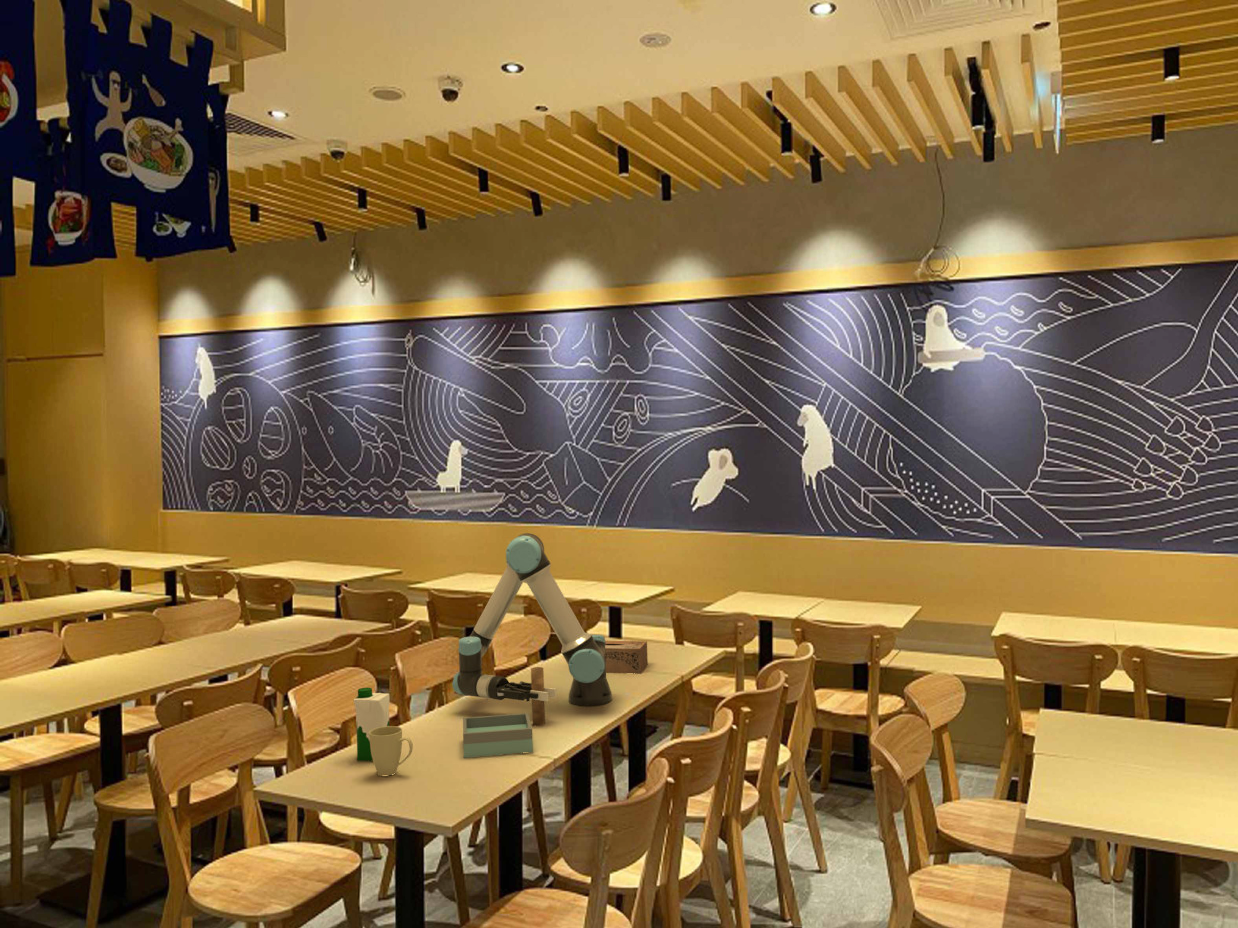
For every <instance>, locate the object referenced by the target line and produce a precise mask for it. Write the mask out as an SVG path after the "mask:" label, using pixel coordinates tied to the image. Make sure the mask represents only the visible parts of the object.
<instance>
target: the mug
mask: <svg viewBox="0 0 1238 928" xmlns="http://www.w3.org/2000/svg"><path fill="white" fill-rule="evenodd" d="M369 738H370V748H371V755H372V759H373V761H372V762H373V765H374V767H375V770H376V773H377V775H378V776H379V775H392V774H394V773H396V774H397V771H398V768H399V766H400V765H402V764H403V763H405V761H407V759H408V758H409V757H410V756H411V755H412V753H413V748H414V746H413V741H412V739H411V737H410V738H409V737H403V728H402V727H400V726H392V725H389V726H385V727H379V728H375V729H373V730H371V731H370V732H369ZM404 741H407V743H408V745H409V751H408V754H407V755H406V756H405V757H404V758H403V759H402V760H401V756H402V751H403V750H402V747H403V746H402V745H403V742H404ZM400 760H401V761H400ZM392 776H393V775H392Z"/></svg>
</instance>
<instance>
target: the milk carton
mask: <svg viewBox="0 0 1238 928" xmlns="http://www.w3.org/2000/svg"><path fill="white" fill-rule="evenodd" d="M353 703H354V708H355V710H354V711H355V724H356V725H355V726H356V727H355V728H356V758H357V759H356V761H359V762H373V759H372V755H371V748H370V738H369V732H370V731H371V730H373V729H375V728H379V727H385V726H390V693H382V692H373V688H372V687H362V688H358V689H357V696H356V697H355V698H354V699H353ZM371 760H372V761H371Z"/></svg>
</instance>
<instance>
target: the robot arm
mask: <svg viewBox="0 0 1238 928" xmlns="http://www.w3.org/2000/svg"><path fill="white" fill-rule="evenodd" d="M505 560H506V561H505V564H506V567H505V570H504V571H503V573H502V575H501V577H500V579H499V581H498V582H497V585H496V587H495V589H494V590H493V592H492V594H491V596H490V598H489V600H488V602H487V604H486V605H485V608H483V611H482V612H481V615H480V617H479V618H478V620H477V622H476V624H475V626H474V628H473V630H472V631H471V634H470V635H469V636H465V637H461V638H460V639H459V640H458V649H457V651H458V665H459V666H458V667H459V671H458V672H456V673H455V674H454V676H453V681H451V684H452V685H451V686H452V689H453V691H454V692H455V693H456V694H459V695H463V696H466V697H477V698H483V699H484V698H485V700H487V701H488V700H489V699H491V700H497V701H502V700H505V699H508V700H515V701H517V700H518V701H525V700H526V701H525V702H530V701H531V700H532V699H534V700H541V701H544V702H549V698H557V697H558V696H557V695H558V694H557V688H551V687H545V686H544V692H542V691H534V690H532V687H531V682H525V681H522V680H521V681H519V683H517V682H514V681H511V682H509V680H508V678H507V677H505V676H499V675H491V674H483V671H482V670H483V669H482V666H483V665H482V664H483V663H482V658H483V657H484V655H486V654H487V652H488V650H489V647H490V645H491V643H492V641H493V639H494V638H495V636H496V633H497V631H498V630H499V628H500V627H501V624H502V622H503V620H504V618H505V617H506V615H507V613H508V612H509V609H510V607H511V605H512V604H513V602H514V600H515V598H516V596H517V594H518V593H519V591H520V589H521V587H522V585H523V583H525V584H527V586H528V588H529V589H530V591H531V593H532V594H533V596H534V598H535V600H536V601H537V603H538V605H539V607H540V608H541V611H542V612H543V614H544V616H545V618H546V619H547V621H548V622H549V623H548V624H550V626H551V628H552V629H553V631H554V633H555V635H556V637H557V638H558V640H559V642H560V643H561V645H562V646H561V650H560V651H561V654H562V656H563V658H564V659H565V662H566V663H567V665H568V672H569V673H570V675H571V677H572V683H571V685H570V689H569V693H568V702H569V703H570V704H572V705H577V706H584V707H585V706H587V707H589V706H590V707H591V706H601V705H605V704H607V703H610V702H611V701H612V700H613V698H612V697H613V694H612V693H613V692H612V690H611V687H610V685H609V681H608V679H607V673H606V652H605V644H606V642H605V641H606V638H605V636H604V635H603V634H591V633H588V632H585V630H584V629H583V627H582V626H581V624H580V623H581V622H579V620H578V619H577V616H576V614H575V613H574V611H573V610H572V608H571V606H570V604H569V603H568V601H567V599H566V597H565V595H564V594H563V592H562V590H561V588H560V586H559V585H558V583H557V582H556V580H555V577H554V576H553V575H552V572H551V565H552V564H551V561H550V560H549V558H548V557H547V555H546V553H545V545H544V542H543V541H542V540H541V538H540V537H539V536H538V535H535V534H533V533H528V532H527V533H522V534H520V535H518V536H516V537H515V538H514V539H512V540H511V541H510V542H509V544H508V545H507V548H506V550H505Z"/></svg>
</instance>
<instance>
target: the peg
mask: <svg viewBox="0 0 1238 928" xmlns="http://www.w3.org/2000/svg"><path fill="white" fill-rule="evenodd" d="M544 675H545V674H544V667H542V666H541V667H540V666H536V667H531V668H530V677H531V678H530V681H531V682H530V683H531V687H532V690H534V691H542V692H544V687H545V683H544V682H545V681H544V680H545V679H544ZM545 708H546V707H545V701H541V700H534V699H531V710H532V711H531V714H532V726H534V725H536V726H535V727H539V726H541V725H542V726H545V725H546V713H545V712H546V709H545Z"/></svg>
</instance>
